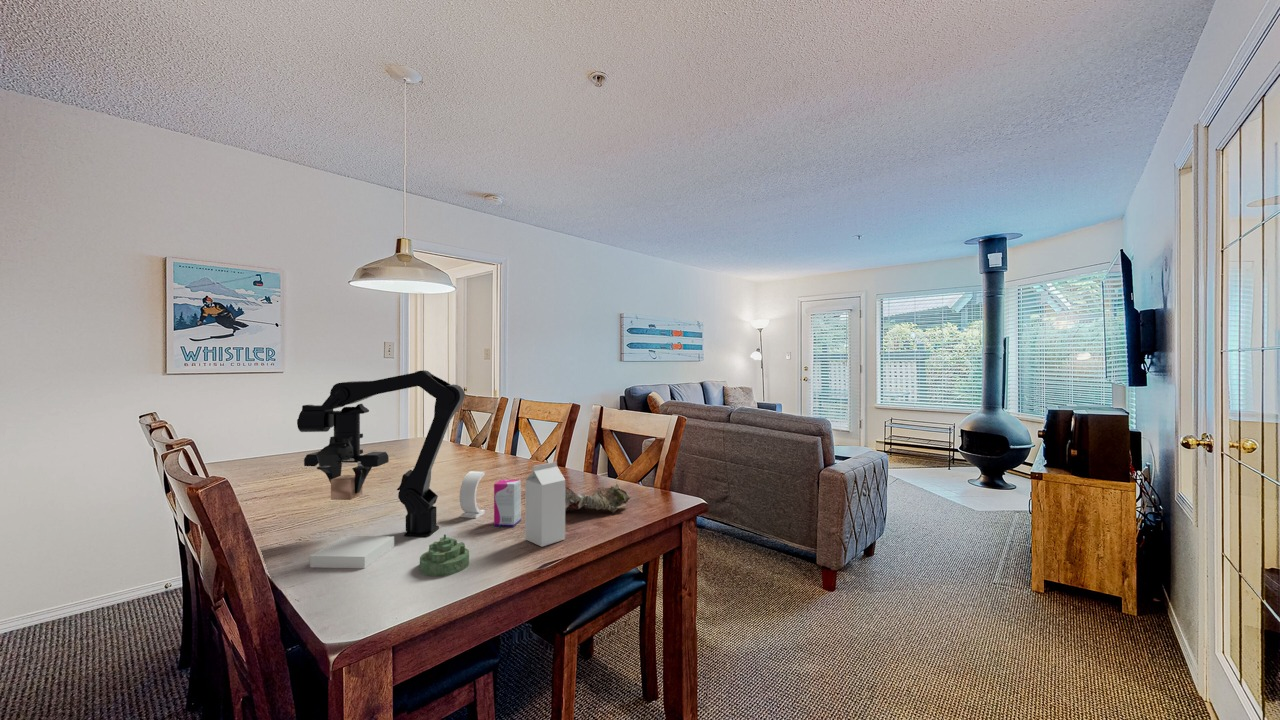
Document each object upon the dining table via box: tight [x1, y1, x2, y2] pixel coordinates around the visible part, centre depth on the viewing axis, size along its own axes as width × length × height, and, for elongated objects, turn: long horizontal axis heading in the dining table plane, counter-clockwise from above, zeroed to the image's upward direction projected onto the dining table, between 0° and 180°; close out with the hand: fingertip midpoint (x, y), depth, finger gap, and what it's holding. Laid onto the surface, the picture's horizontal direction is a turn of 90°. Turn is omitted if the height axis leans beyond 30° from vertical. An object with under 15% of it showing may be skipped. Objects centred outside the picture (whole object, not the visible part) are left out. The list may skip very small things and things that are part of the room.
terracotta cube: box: [330, 474, 363, 501], centre depth 125 cm, size 5×5×5 cm
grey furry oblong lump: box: [565, 482, 632, 513], centre depth 148 cm, size 25×16×8 cm, turn 124°
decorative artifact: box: [419, 534, 470, 577], centre depth 108 cm, size 10×7×10 cm
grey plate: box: [309, 535, 395, 569], centre depth 112 cm, size 12×12×2 cm
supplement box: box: [493, 479, 522, 528], centre depth 136 cm, size 6×6×12 cm
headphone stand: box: [459, 470, 486, 519], centre depth 142 cm, size 5×6×12 cm
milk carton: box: [524, 461, 566, 547], centre depth 123 cm, size 7×7×19 cm
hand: (346, 492), depth 125 cm, fingers closed on terracotta cube, 5 cm apart
